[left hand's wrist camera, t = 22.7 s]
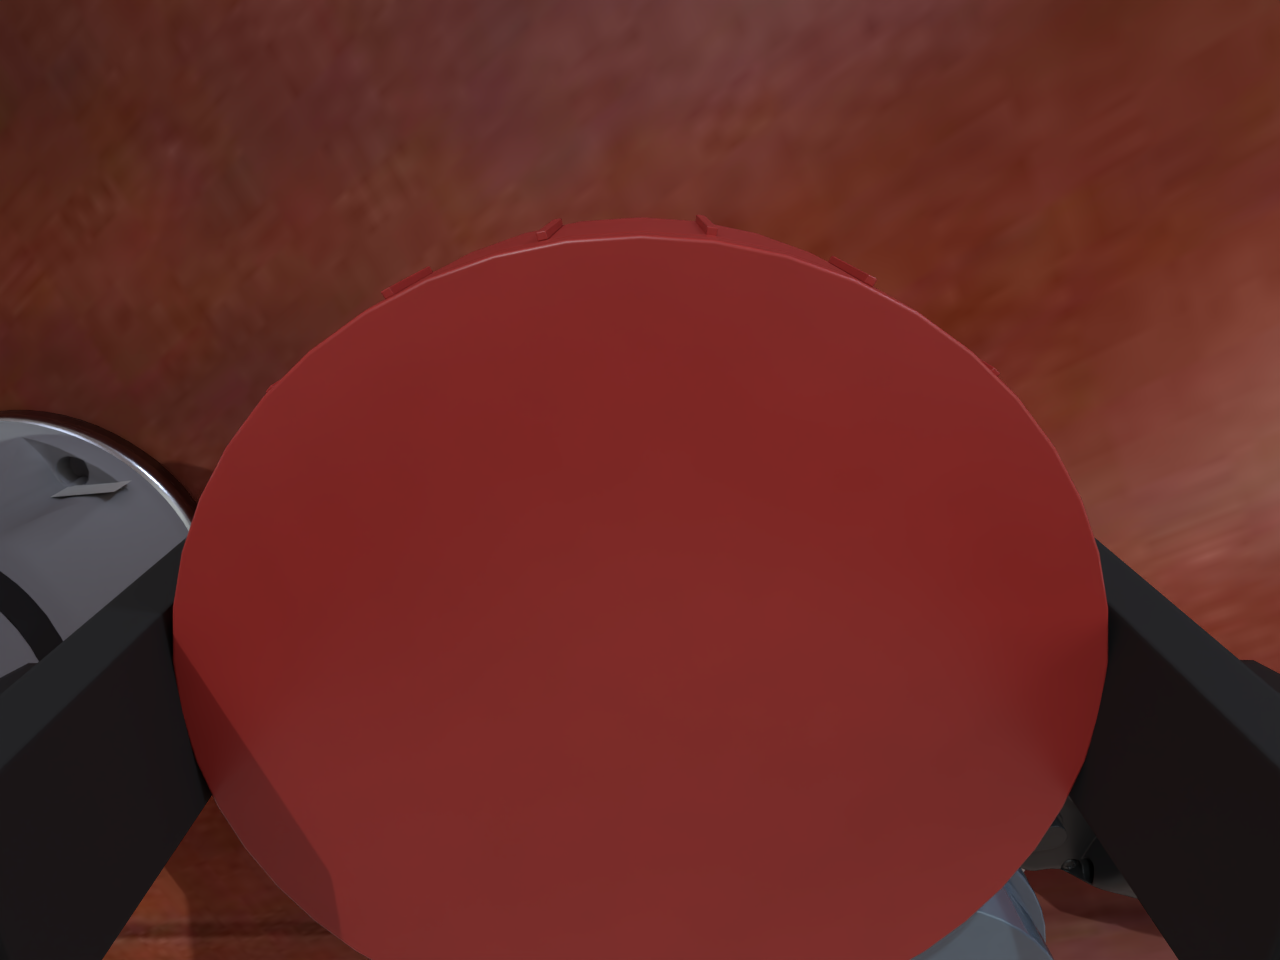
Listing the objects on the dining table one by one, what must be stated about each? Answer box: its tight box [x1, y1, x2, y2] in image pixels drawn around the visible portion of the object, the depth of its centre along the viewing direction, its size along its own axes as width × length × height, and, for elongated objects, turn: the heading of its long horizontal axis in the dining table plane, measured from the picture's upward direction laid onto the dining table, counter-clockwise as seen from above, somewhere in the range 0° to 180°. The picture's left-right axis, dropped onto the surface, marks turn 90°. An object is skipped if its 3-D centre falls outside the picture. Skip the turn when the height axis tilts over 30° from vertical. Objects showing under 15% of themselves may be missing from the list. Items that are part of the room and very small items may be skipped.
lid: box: [173, 215, 1108, 960], centre depth 11 cm, size 11×11×2 cm
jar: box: [911, 867, 1054, 960], centre depth 32 cm, size 10×10×20 cm
